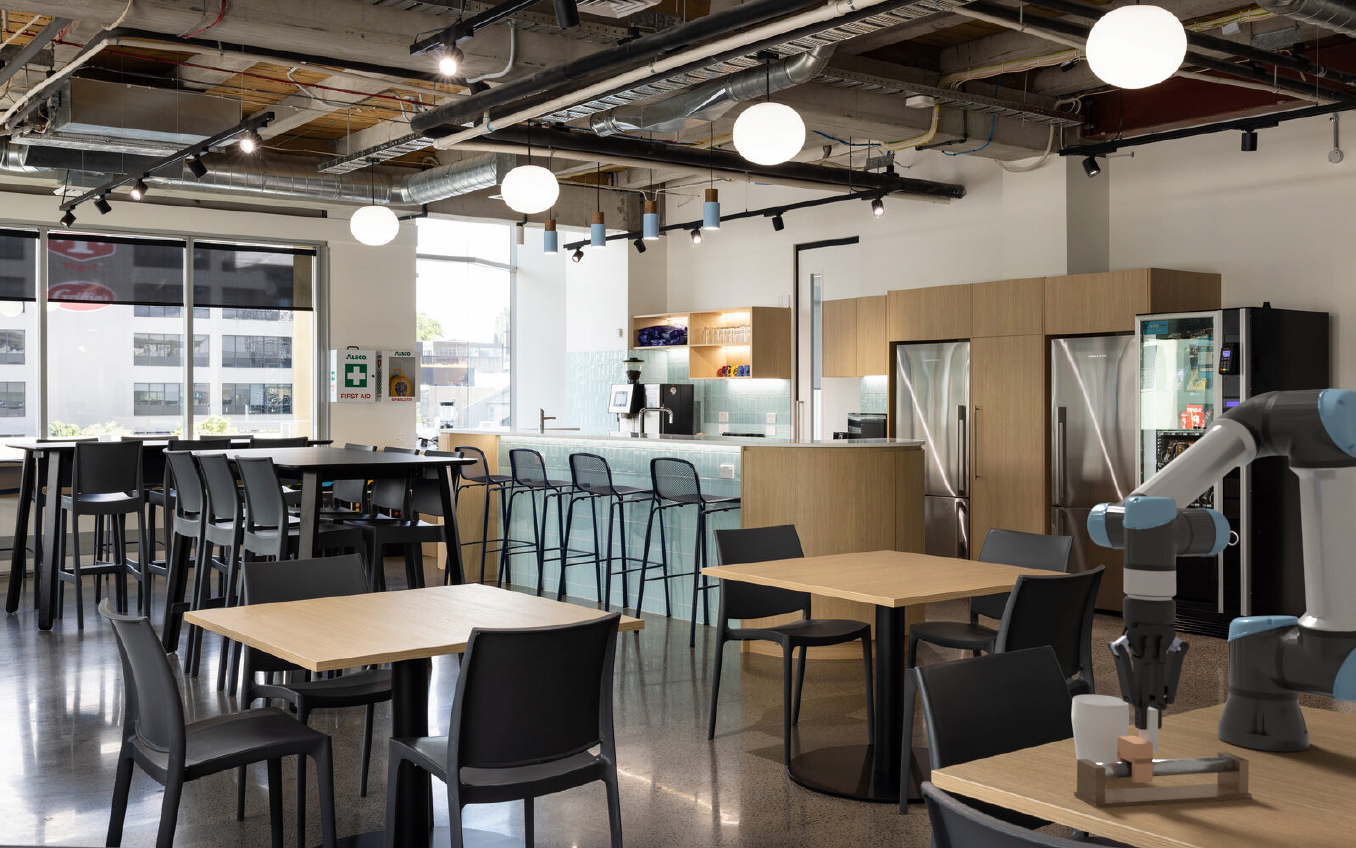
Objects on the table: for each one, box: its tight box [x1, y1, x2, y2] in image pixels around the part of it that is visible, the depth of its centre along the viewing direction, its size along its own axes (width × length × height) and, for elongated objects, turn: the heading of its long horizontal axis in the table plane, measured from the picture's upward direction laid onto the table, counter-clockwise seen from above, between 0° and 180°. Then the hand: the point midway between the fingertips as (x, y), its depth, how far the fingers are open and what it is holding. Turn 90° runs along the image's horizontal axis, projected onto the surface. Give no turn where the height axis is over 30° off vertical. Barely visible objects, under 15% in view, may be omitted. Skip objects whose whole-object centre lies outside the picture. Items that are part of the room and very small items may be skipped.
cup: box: [1071, 694, 1130, 763], centre depth 191 cm, size 9×9×12 cm
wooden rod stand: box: [1073, 751, 1253, 808], centre depth 178 cm, size 27×6×6 cm, turn 103°
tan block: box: [1117, 735, 1154, 783], centre depth 177 cm, size 3×5×6 cm, turn 13°
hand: (1147, 750), depth 177 cm, fingers closed
